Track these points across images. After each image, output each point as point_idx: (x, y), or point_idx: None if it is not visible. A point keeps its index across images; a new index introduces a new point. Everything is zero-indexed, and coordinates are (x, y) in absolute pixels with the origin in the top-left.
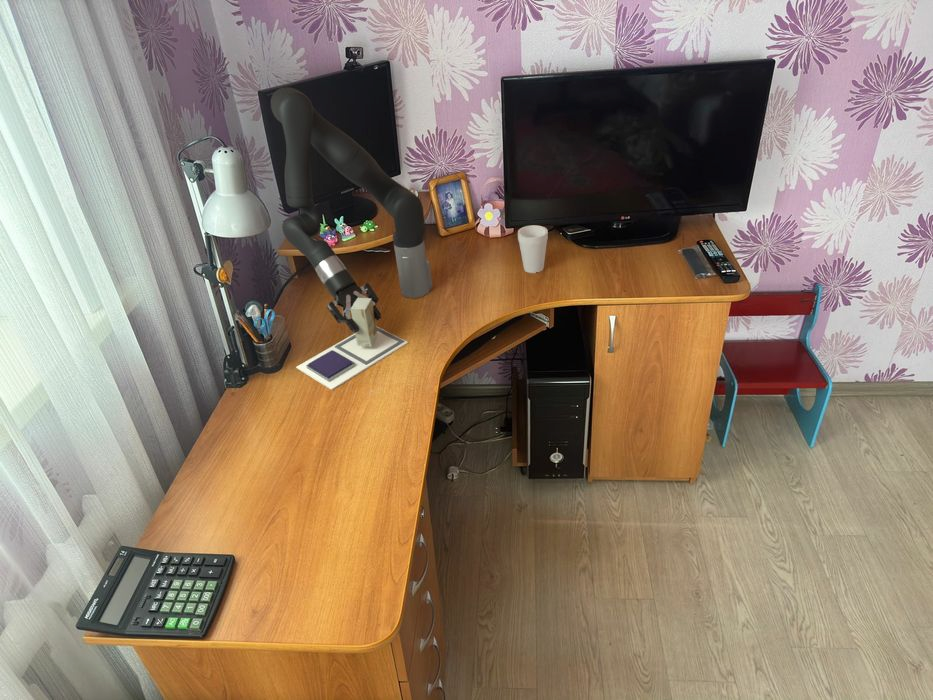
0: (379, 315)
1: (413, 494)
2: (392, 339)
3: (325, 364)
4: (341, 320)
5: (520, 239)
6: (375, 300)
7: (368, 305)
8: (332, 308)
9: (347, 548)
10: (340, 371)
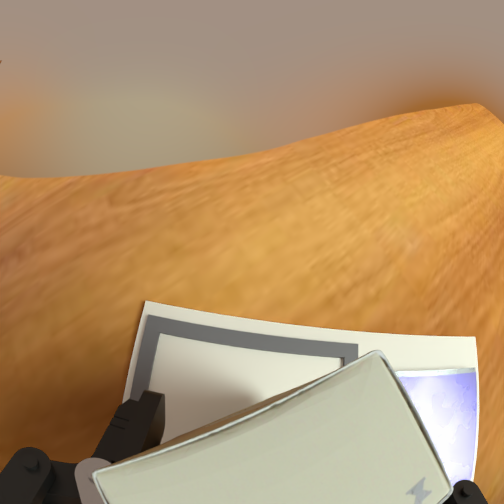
0: (148, 397)
1: (439, 109)
2: (156, 373)
3: (453, 436)
4: (465, 483)
5: None
6: (50, 470)
7: (258, 408)
8: None
9: (497, 138)
10: (442, 370)
